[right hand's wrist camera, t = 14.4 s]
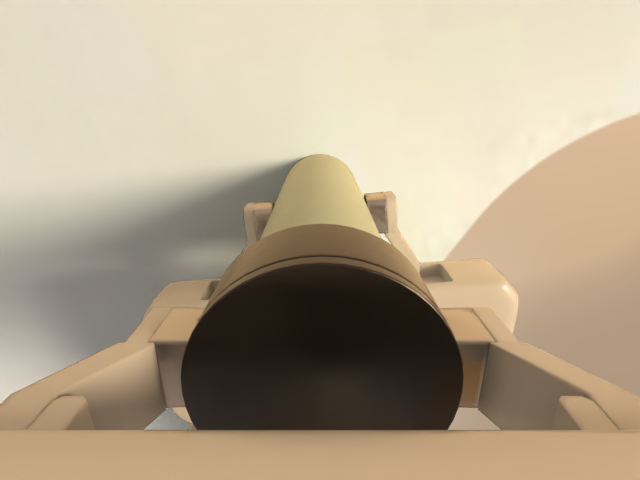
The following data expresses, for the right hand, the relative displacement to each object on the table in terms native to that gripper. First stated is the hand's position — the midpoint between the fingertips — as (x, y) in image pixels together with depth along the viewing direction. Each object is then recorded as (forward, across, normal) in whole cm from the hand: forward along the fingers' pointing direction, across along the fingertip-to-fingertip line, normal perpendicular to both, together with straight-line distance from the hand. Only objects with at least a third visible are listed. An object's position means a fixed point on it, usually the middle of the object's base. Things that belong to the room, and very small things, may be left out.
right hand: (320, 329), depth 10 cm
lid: (-2, 0, 0) cm, 2 cm away
